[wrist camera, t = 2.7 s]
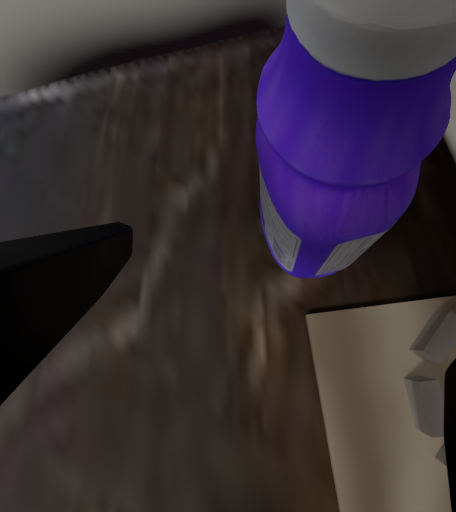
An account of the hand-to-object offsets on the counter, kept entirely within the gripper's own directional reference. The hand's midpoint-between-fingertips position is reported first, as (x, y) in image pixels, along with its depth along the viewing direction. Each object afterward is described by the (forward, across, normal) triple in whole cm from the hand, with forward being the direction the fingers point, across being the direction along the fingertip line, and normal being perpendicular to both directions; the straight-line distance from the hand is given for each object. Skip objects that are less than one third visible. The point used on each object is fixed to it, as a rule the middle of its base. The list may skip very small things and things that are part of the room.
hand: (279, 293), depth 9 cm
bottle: (+14, 0, +5) cm, 15 cm away
